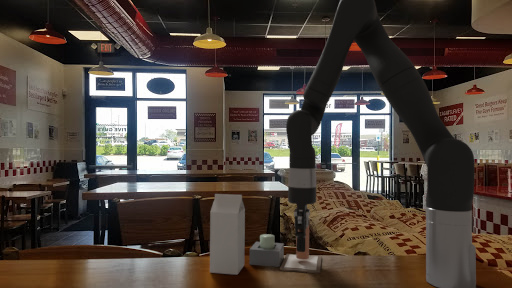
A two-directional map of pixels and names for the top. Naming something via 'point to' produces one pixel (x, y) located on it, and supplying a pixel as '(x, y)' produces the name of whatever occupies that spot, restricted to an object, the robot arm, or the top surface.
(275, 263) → the button box
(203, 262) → the top surface
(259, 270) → the top surface
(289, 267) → the picture frame
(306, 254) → the pink capped bottle
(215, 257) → the milk carton
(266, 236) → the button
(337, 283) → the top surface
